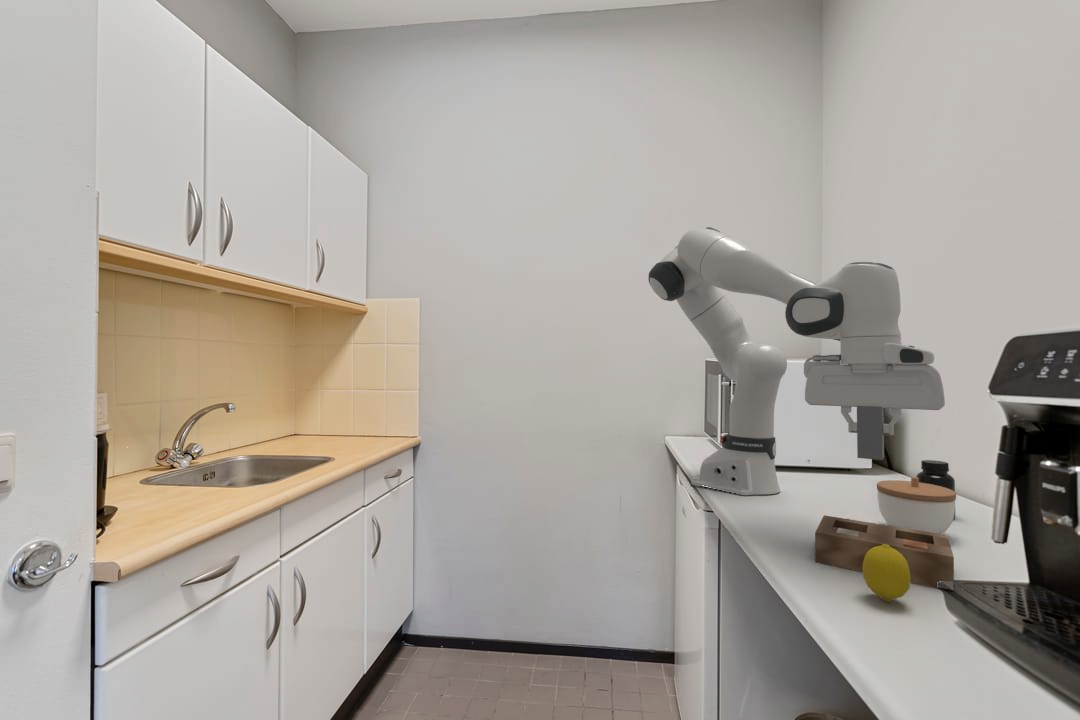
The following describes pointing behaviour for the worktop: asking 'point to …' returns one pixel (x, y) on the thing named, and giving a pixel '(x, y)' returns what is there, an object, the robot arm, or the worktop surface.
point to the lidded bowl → (916, 505)
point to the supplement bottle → (936, 474)
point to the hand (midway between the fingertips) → (870, 433)
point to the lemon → (886, 572)
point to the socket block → (854, 539)
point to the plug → (870, 432)
